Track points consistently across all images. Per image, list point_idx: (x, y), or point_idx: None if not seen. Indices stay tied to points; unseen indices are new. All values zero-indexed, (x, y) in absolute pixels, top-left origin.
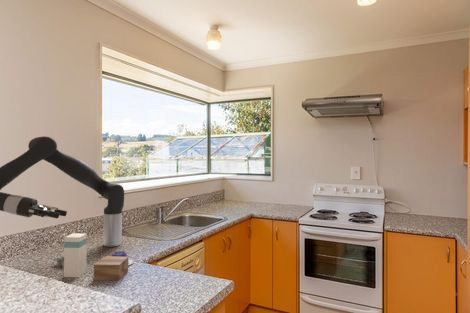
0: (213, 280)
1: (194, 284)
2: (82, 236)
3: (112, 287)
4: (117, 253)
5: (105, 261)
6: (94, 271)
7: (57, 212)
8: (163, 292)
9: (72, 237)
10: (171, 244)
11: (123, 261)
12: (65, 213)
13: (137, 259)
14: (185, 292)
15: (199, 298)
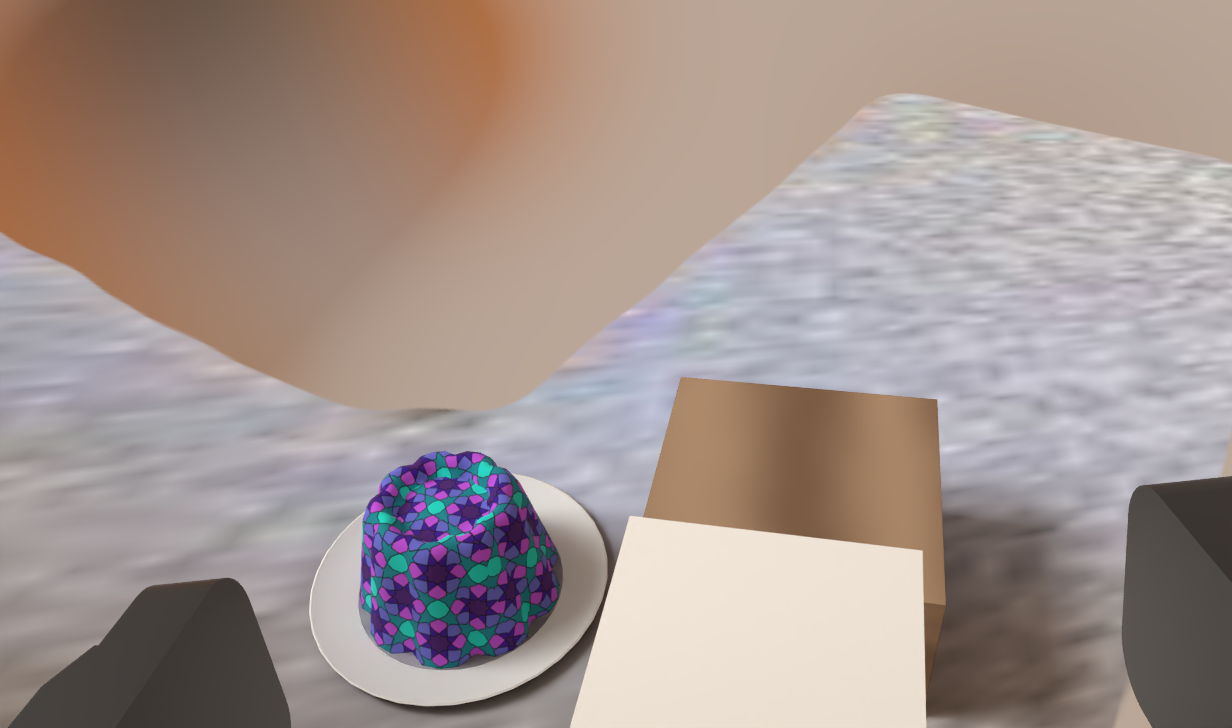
0: (880, 128)
1: (945, 177)
2: (796, 543)
3: (1081, 525)
4: (403, 528)
5: (830, 521)
6: (933, 652)
7: (1193, 528)
8: (1092, 269)
9: (922, 668)
10: (57, 297)
11: (818, 391)
12: (251, 658)
13: (378, 461)
14: (1066, 199)
15: (1127, 160)
